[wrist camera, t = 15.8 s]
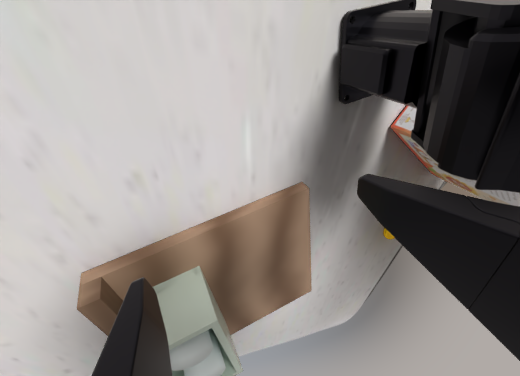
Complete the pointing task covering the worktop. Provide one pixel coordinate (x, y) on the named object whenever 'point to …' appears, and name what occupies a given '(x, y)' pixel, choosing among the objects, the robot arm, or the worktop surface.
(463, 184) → the cracker box
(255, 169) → the worktop surface
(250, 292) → the walnut shelf
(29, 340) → the worktop surface
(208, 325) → the pale green crate
